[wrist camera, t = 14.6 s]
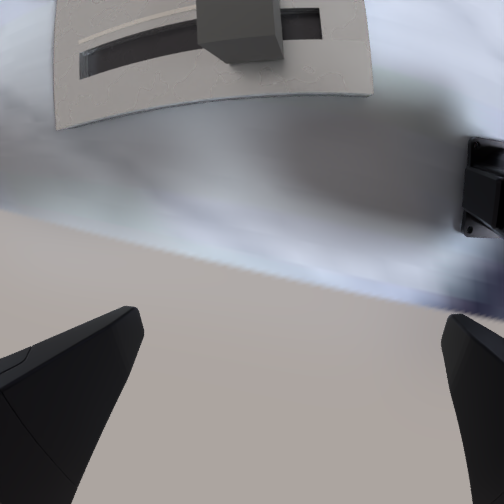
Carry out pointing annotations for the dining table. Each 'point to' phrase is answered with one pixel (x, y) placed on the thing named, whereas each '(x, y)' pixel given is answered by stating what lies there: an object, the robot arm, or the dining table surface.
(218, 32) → the black fader
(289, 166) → the dining table surface
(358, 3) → the panel
